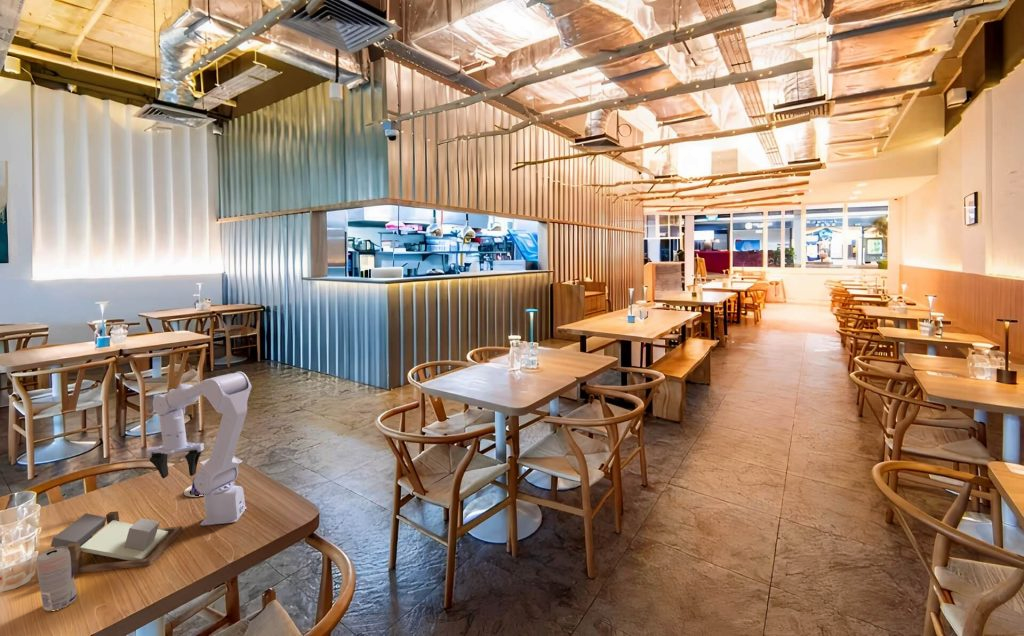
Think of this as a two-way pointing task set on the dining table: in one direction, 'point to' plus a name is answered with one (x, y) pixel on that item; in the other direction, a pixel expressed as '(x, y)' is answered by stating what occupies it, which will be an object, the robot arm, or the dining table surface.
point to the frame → (79, 568)
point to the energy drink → (56, 578)
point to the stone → (141, 534)
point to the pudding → (192, 490)
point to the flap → (103, 538)
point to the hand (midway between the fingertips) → (179, 475)
